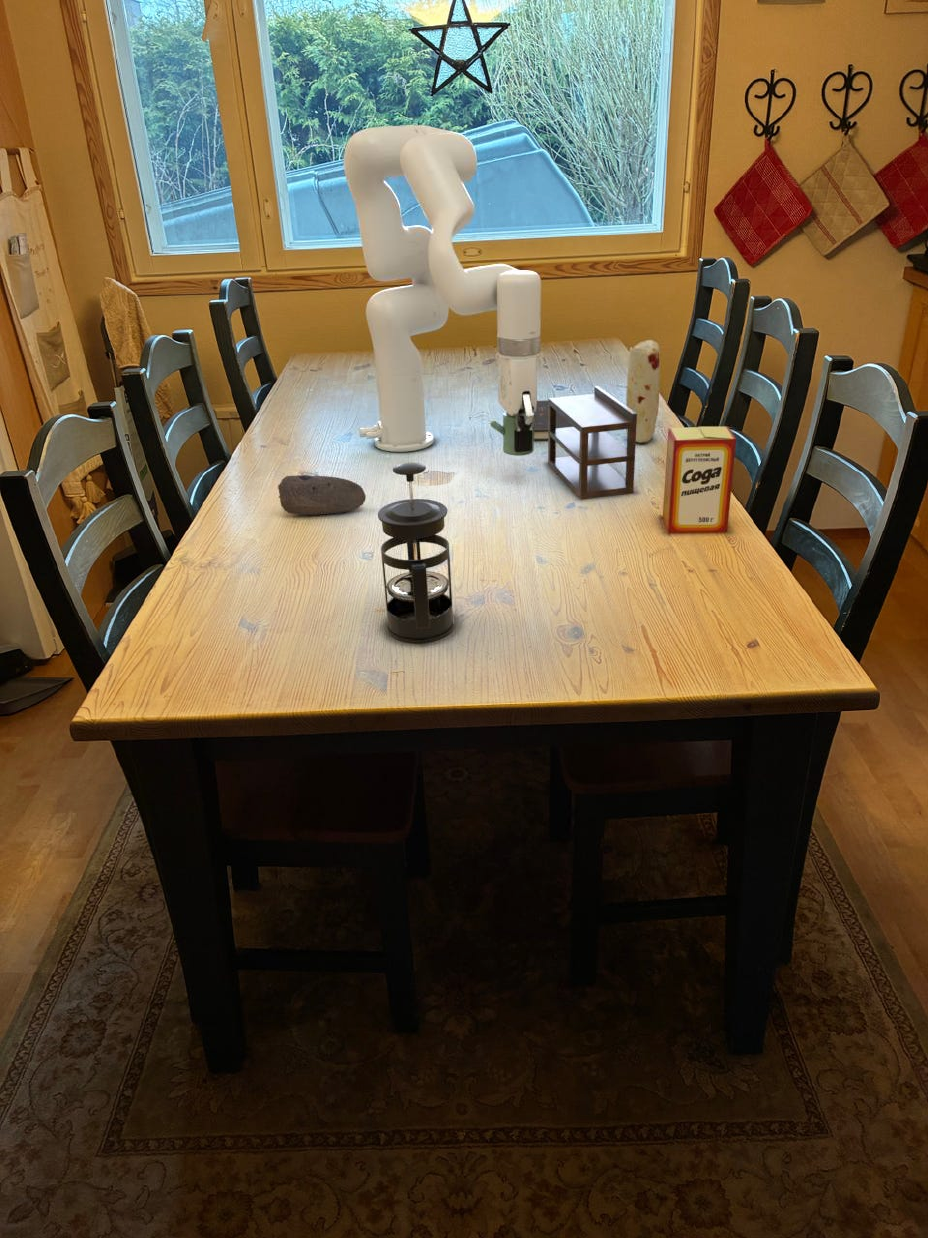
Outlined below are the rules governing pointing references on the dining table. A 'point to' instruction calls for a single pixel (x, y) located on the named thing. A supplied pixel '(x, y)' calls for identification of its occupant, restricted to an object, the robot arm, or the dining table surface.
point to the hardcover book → (546, 421)
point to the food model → (644, 387)
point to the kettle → (511, 433)
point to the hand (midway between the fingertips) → (518, 444)
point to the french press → (416, 567)
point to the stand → (592, 443)
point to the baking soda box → (698, 479)
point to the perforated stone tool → (319, 495)
